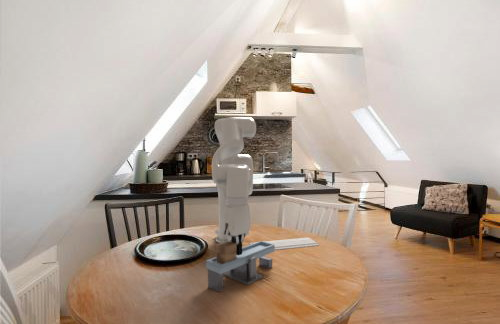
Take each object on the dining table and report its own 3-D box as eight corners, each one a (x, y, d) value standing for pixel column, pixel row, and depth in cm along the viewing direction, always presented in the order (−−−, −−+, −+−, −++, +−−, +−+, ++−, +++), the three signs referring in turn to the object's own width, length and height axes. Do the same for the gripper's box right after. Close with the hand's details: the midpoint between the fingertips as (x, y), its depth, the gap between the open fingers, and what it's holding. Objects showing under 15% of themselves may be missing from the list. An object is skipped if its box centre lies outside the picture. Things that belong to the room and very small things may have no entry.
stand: (201, 284, 105) (201, 261, 104) (255, 261, 126) (255, 242, 125) (225, 295, 97) (226, 271, 96) (279, 269, 118) (279, 249, 117)
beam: (205, 267, 103) (205, 259, 103) (259, 247, 124) (259, 240, 124) (221, 274, 98) (221, 265, 98) (275, 251, 119) (275, 244, 119)
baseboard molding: (320, 247, 145) (308, 240, 156) (320, 241, 145) (308, 234, 156) (257, 254, 136) (249, 246, 147) (257, 247, 135) (249, 240, 147)
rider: (216, 262, 104) (216, 244, 104) (227, 258, 108) (227, 240, 107) (225, 265, 101) (225, 247, 101) (236, 261, 105) (236, 243, 104)
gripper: (244, 197, 116) (243, 246, 116) (213, 203, 104) (213, 257, 105) (259, 200, 111) (259, 251, 111) (229, 206, 99) (229, 262, 100)
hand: (237, 253), depth 108 cm, fingers closed
